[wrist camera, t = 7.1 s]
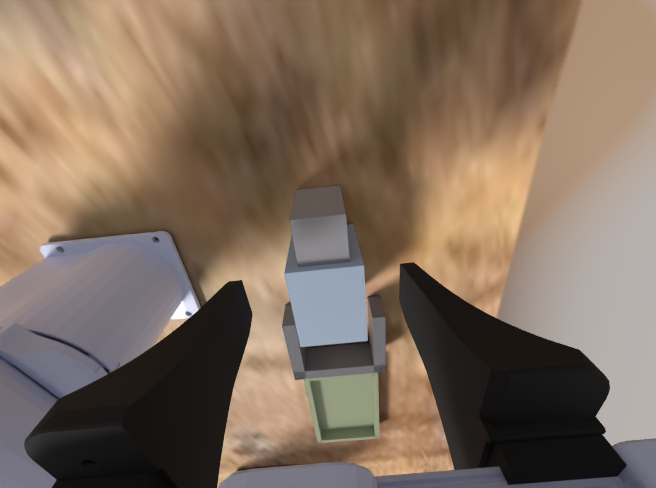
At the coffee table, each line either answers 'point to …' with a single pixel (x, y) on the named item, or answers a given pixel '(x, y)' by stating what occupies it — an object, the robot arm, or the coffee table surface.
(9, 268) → the coffee table surface
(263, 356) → the coffee table surface
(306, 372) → the bay
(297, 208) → the stepped two-tone block
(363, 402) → the tray
